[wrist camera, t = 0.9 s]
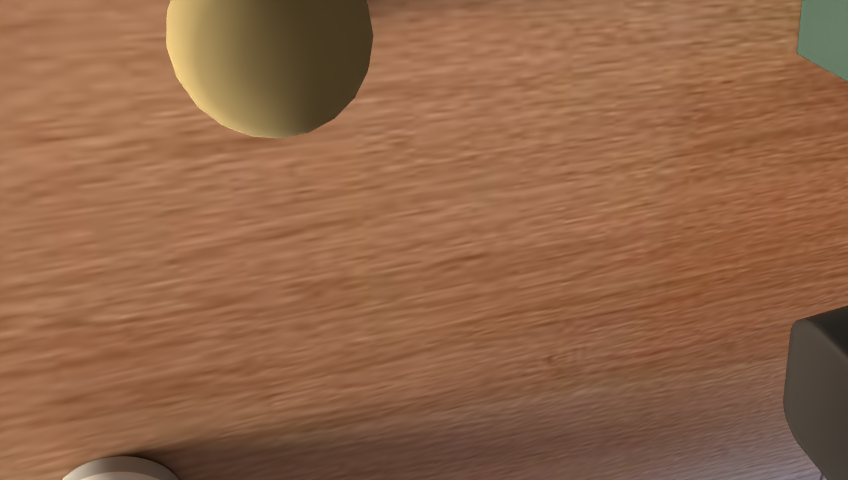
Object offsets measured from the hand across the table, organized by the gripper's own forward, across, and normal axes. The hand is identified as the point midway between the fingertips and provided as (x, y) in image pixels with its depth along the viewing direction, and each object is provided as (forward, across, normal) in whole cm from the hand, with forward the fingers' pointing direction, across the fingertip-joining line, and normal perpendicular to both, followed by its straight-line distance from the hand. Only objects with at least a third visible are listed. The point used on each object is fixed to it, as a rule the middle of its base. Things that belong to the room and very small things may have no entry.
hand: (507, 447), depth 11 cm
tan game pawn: (+23, +2, -2) cm, 23 cm away
